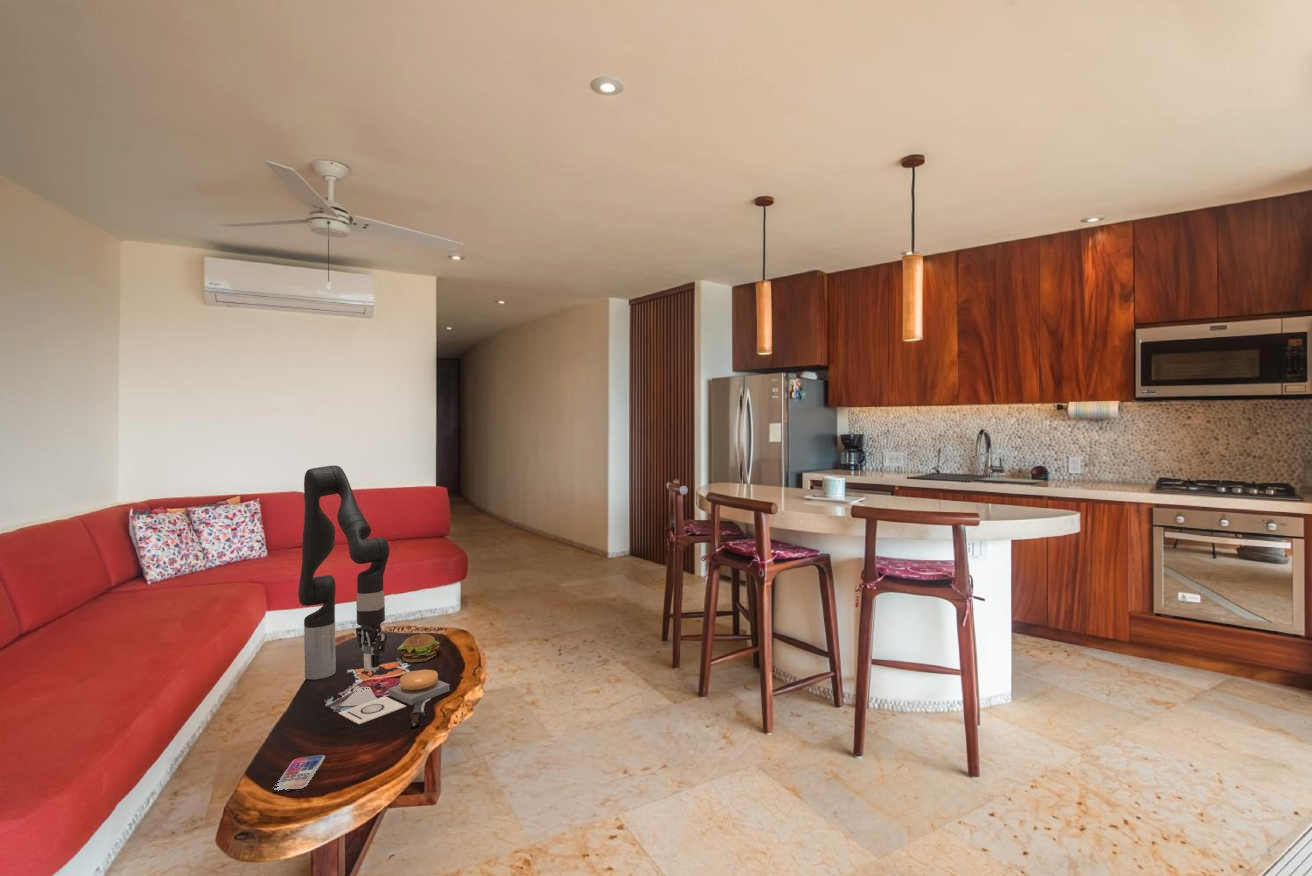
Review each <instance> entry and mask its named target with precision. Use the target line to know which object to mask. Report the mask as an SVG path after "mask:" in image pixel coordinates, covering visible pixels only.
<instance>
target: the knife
mask: <svg viewBox="0 0 1312 876" xmlns="http://www.w3.org/2000/svg"><path fill="white" fill-rule="evenodd" d="M431 699H432V698H430V699H426V700H423V701H422V702H417V703H415V704H414V707H413V710H412V712H411V713H410V715H409V717H410V719H411V723H410V727H418V726H419V725H420V722H419V719H420V718H425V715H426V713H425V710H424V709H425V705H426V703H427V702H429V701H430V700H431Z"/></svg>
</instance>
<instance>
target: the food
mask: <svg viewBox="0 0 1312 876" xmlns="http://www.w3.org/2000/svg"><path fill="white" fill-rule="evenodd" d="M435 639H436V638H435V637H434V636H432V635H430V634H425V633H424V634H421V633H420V634H416V635H411V636H409V637H407V638H406V639H405V640H404V641H403V643H401V645H399V647H397V653H398V654H400V655H401V654H402V656H401V658H402V660H403V662H405V663H406V662H407V663H420V662H421V663H422V662H426V661H429V659H430V660H431V658H432V659H433V657H434V656H435V657H436V656H437V653H439V649H440V641H438V640H435ZM435 657H434V658H435Z"/></svg>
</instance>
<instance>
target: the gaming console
mask: <svg viewBox="0 0 1312 876" xmlns="http://www.w3.org/2000/svg"><path fill="white" fill-rule="evenodd" d="M374 684H375V685H374ZM379 684H381V685H380V686H386V685H388V686H387V688H386V689H385V690H384V691H383V693H381V694H380V696H382V695H383V694H384V693H385V692H386V691H388V689H389V688H391V685H389V684H390V681H382V682H379ZM385 684H386V685H385ZM366 685H367V686H366ZM366 685H360V686H359V687H357V689H355V691H353V692H352V693H351V694H350V695H349V696H348V697H347V698H346V699H345V700H344V701H342V703H341V704H339V705H338V706H337V707H336V708H335V709H334V710H333V711H332V713H338V712H341V711H344V710H347V709H350V708H353V707H355V706H358V705H361V704H364V703H367V702H369V701H372V700H375V699H377V697H376V695H375V693H374V692H373V690H372V688H373V687H376V688H377V687H379V685H377V682H375V681H371V682H367V683H366ZM373 685H374V686H373ZM359 688H360V689H359ZM362 688H364V690H363V689H362ZM366 688H367V689H366ZM368 688H369V689H368ZM356 691H357V692H356ZM361 691H362V692H361ZM363 691H364V692H363Z"/></svg>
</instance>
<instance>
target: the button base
mask: <svg viewBox="0 0 1312 876" xmlns="http://www.w3.org/2000/svg"><path fill="white" fill-rule="evenodd" d="M450 689H451V685H450V683H447V682H444V681H442V680H439V679H438V681H437V683H435V684H434V685H432V686H430V687H427V688H423V689H417V690H407V689H403V688H401V687H400V684H397V685H395V686H392V687H389V688H388V689H387V691H388V696H390V697H392V698H394V699H395V700H398V701H401V702H403V703H406V704H408V705H410V706H413V705H414V706H415V703H417V702H419V703H421V702H422V701H423V700H426V699H430V698H431V699H432V698H435V697H437V696H440V695H443V694H445V693H447V692H450Z"/></svg>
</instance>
